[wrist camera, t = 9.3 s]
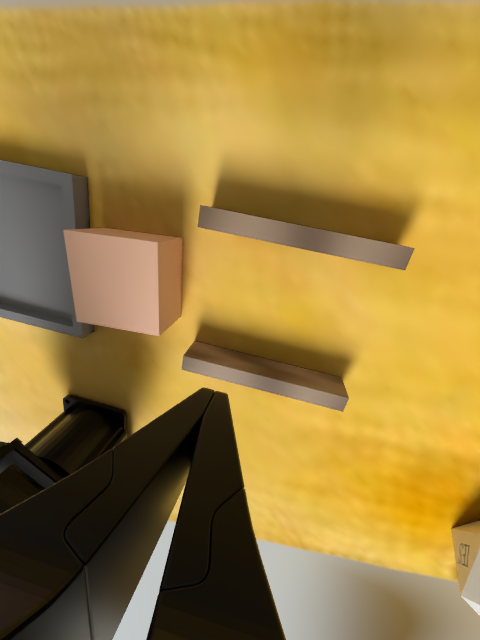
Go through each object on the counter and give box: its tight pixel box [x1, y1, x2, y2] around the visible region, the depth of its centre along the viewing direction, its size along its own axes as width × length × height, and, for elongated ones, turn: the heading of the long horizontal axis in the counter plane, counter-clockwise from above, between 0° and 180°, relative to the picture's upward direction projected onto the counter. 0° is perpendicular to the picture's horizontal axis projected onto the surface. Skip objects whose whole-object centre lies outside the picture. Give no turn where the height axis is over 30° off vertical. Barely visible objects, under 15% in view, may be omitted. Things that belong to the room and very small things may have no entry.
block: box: [63, 228, 183, 336], centre depth 18 cm, size 6×6×4 cm
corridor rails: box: [182, 205, 415, 411], centre depth 18 cm, size 12×11×2 cm
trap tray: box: [0, 160, 94, 338], centre depth 20 cm, size 10×12×1 cm
